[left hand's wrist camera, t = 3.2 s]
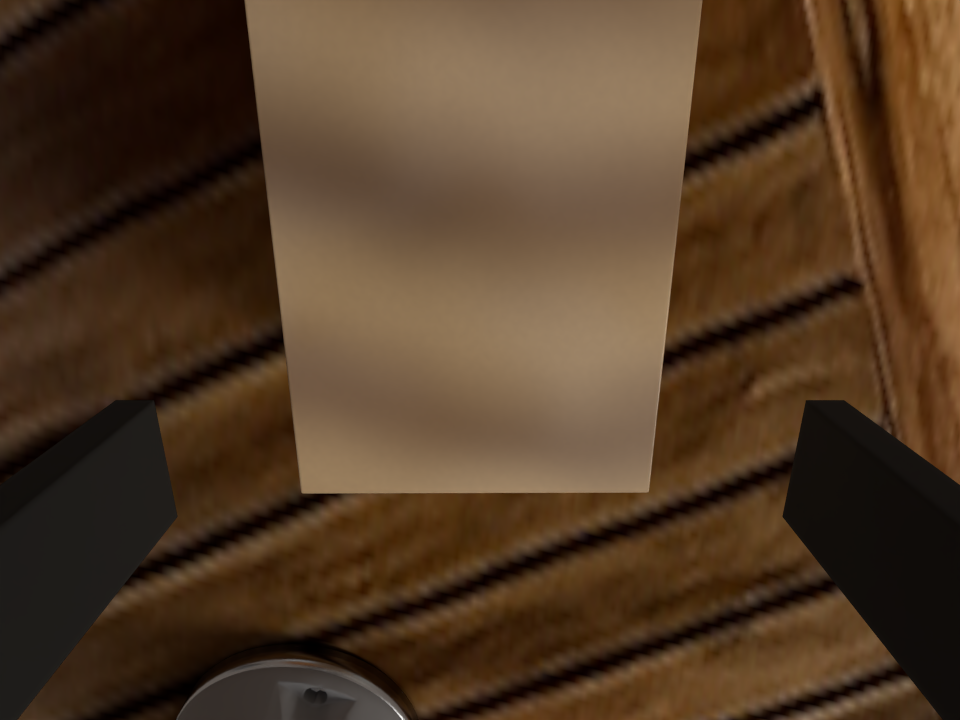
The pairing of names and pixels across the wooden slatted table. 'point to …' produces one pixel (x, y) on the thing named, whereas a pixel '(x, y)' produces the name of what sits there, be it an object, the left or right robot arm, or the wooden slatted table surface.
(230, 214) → the wooden slatted table surface
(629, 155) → the cabinet
